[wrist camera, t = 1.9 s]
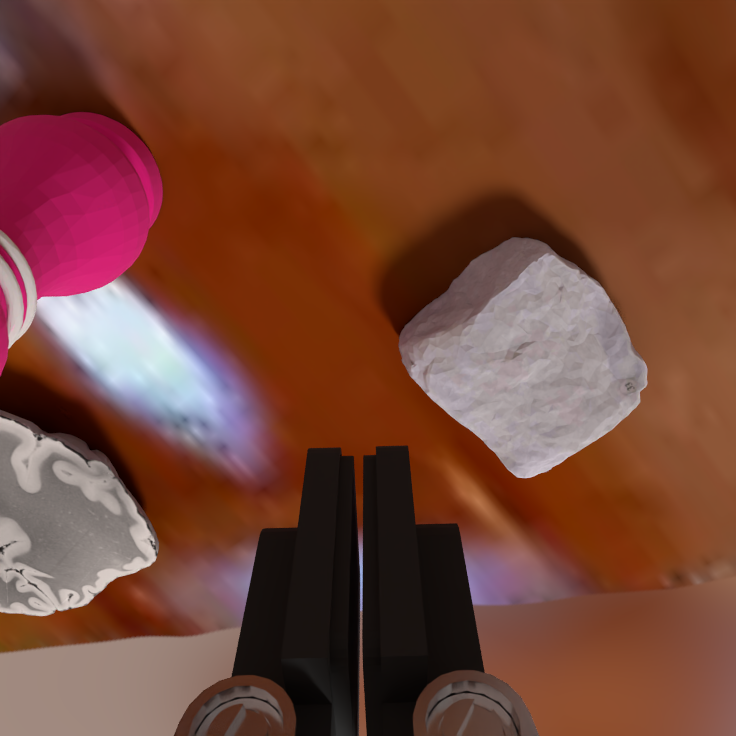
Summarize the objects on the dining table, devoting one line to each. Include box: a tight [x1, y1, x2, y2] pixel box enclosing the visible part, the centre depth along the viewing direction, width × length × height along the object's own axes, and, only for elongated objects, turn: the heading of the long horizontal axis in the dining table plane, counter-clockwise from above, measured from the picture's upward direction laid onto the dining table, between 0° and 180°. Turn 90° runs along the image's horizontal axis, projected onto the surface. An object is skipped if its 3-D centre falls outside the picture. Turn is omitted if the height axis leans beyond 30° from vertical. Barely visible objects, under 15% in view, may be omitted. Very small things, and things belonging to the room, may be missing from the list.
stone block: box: [399, 237, 647, 478], centre depth 34 cm, size 12×5×10 cm
